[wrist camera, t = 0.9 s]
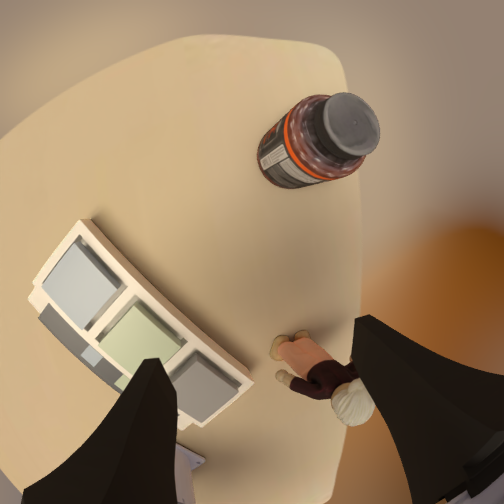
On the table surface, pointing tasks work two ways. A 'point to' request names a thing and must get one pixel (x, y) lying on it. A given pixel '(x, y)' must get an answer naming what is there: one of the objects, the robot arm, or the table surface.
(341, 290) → the table surface
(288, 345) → the grandmother figurine
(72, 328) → the keypad
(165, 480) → the robot arm
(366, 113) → the supplement bottle
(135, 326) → the sage key
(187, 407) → the grey key
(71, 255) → the slate key
